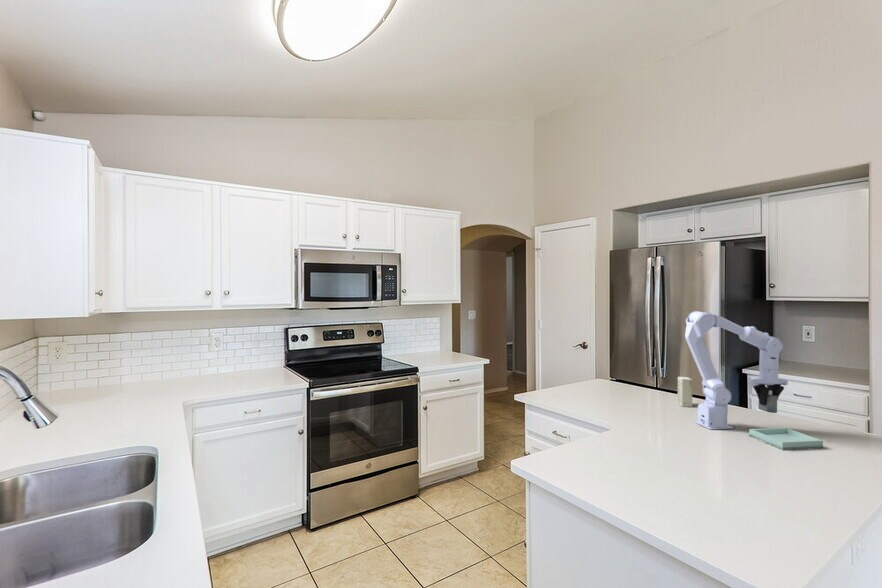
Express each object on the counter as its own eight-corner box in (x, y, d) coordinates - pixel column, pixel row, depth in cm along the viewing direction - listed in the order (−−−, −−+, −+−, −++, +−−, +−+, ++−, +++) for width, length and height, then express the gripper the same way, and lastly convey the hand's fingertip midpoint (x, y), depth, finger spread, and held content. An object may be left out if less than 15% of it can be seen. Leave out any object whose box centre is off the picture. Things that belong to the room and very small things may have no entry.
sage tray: (782, 450, 142) (782, 442, 142) (749, 436, 155) (749, 429, 155) (822, 448, 144) (822, 440, 144) (786, 434, 157) (786, 427, 157)
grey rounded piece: (771, 413, 159) (771, 392, 159) (755, 408, 166) (756, 388, 166) (779, 412, 160) (780, 392, 160) (764, 407, 166) (764, 388, 166)
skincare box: (692, 407, 191) (693, 379, 191) (681, 406, 192) (682, 379, 192) (687, 403, 197) (687, 376, 197) (676, 402, 198) (677, 376, 198)
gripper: (776, 366, 167) (775, 401, 168) (742, 366, 166) (741, 402, 166) (793, 369, 160) (792, 406, 161) (758, 370, 159) (757, 407, 159)
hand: (767, 404), depth 163 cm, fingers closed on grey rounded piece, 3 cm apart
